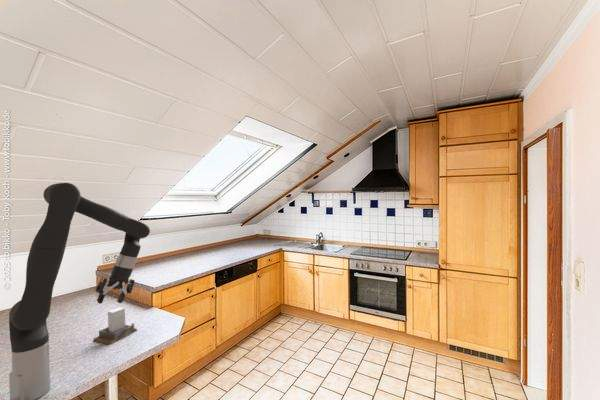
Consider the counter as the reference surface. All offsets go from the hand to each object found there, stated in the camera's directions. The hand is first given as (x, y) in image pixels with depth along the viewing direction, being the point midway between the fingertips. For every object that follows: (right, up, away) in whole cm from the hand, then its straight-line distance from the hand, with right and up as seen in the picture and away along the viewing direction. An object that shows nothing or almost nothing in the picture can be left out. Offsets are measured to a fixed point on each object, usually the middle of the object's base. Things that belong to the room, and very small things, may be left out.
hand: (109, 302), depth 116 cm
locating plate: (-9, -23, +18) cm, 30 cm away
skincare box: (-9, -22, +17) cm, 29 cm away
